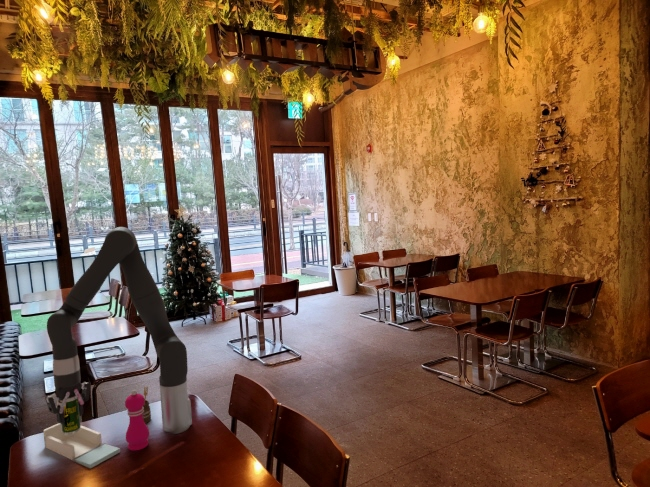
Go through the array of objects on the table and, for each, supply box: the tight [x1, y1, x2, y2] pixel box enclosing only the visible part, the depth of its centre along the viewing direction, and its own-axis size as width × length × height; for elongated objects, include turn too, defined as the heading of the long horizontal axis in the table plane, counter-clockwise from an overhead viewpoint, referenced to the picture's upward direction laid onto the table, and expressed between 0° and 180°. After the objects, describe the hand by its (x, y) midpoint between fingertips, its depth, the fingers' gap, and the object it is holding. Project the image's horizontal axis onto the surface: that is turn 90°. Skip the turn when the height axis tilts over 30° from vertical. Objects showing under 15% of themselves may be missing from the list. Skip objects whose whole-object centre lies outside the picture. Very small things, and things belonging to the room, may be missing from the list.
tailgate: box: [71, 442, 121, 469], centre depth 141 cm, size 10×2×9 cm
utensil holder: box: [143, 386, 152, 424], centre depth 165 cm, size 6×6×12 cm
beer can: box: [60, 395, 82, 434], centre depth 146 cm, size 5×5×12 cm
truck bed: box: [43, 422, 103, 461], centre depth 147 cm, size 10×16×7 cm, turn 59°
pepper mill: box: [124, 389, 150, 451], centre depth 146 cm, size 7×7×20 cm
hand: (70, 419), depth 147 cm, fingers closed on beer can, 5 cm apart
